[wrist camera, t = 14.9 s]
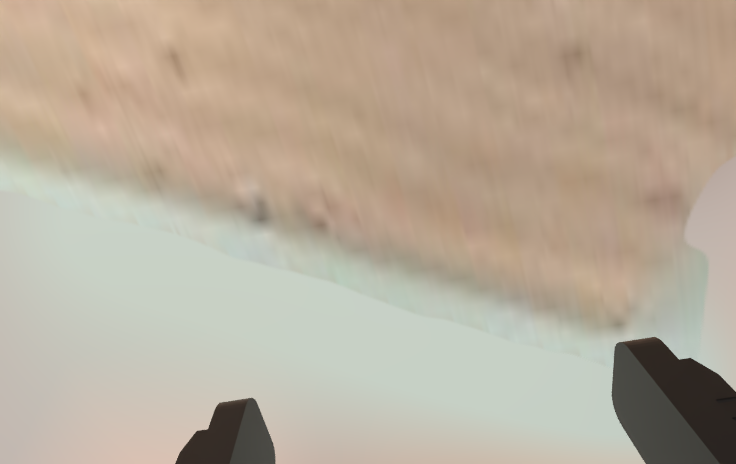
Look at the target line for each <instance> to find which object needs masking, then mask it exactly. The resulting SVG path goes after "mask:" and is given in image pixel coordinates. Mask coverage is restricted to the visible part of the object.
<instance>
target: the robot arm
mask: <svg viewBox="0 0 736 464" xmlns="http://www.w3.org/2000/svg"><path fill="white" fill-rule="evenodd" d="M612 400H613V405H614V409H615V412H616V414H617V417H618V419H619V421H620V423H621V424H622V426H623V428H624V430H625V431H626V433H627V435H628V436H629V438H630V439H631V441H632V442H633V444H634V446H635V447H636V449H637V450H638V452H639V454H640V455H641V457H642V458H643V460H644V461H645V463H646V464H736V392H735V391H734V390H733V389H732V388H731V387H730V386H729V385H728V384H727V383H726V381H724V379H723V378H722V377H721V376H720V375H718V374H717V373H715V372H713V371H712V370H710V369H708V368H707V367H705V366H703V365H702V364H700V363H698V362H696V361H695V360H693V359H691V358H687V359H681V360H679V359H678V358H677V357H676V356H675V355H674V354H673V353H672V352H671V350H670V349H669V348H668V347H667V346H666V345H665V344H664V343H663V342H662V341H661V340H660V339H658V338H656V337H651V338H645V339H638V340H632V341H626V342H619V343H617V344H616V346H615V353H614V368H613V384H612ZM175 464H275V451H274V446H273V442H272V440H271V437H270V435H269V432H268V430H267V427H266V425H265V422H264V420H263V417H262V415H261V412H260V409H259V407H258V405H257V402H256V401H255V400H254V399H253V398H248V399H242V400H235V401H229V402H222V403H219V404H218V405H217V407H216V409H215V411H214V414H213V417H212V419H211V422H210V425H209V428H208V429H207V430H201V431H197V432H196V433H195V434H194V435H193V437H192V438H191V439H190V440H189V442H188V443H187V444H186V446H185V447H184V448H183V449H182V451H181V452H180V454H179V456H178V458H177V461H176V463H175Z"/></svg>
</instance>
